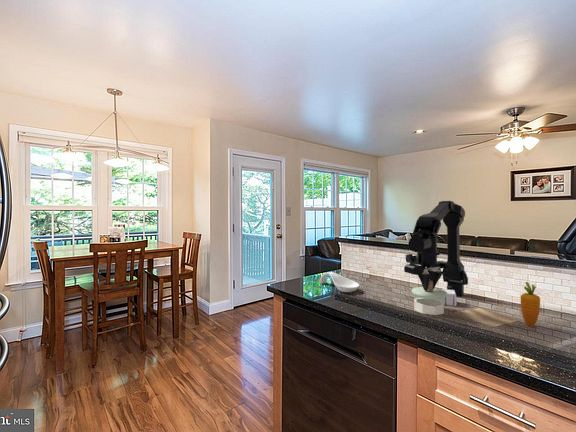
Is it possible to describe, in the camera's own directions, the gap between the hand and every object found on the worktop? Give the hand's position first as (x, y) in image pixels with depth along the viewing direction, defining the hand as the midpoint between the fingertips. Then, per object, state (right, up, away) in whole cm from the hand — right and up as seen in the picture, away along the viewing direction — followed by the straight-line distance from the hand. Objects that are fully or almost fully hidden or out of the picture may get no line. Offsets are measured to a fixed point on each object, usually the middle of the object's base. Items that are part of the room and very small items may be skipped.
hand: (428, 289), depth 111 cm
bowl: (0, -9, 0) cm, 9 cm away
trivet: (+17, -9, -7) cm, 20 cm away
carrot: (+25, -9, -16) cm, 31 cm away
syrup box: (0, -5, +12) cm, 13 cm away
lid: (0, -2, 0) cm, 2 cm away
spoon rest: (-28, -9, +35) cm, 46 cm away
